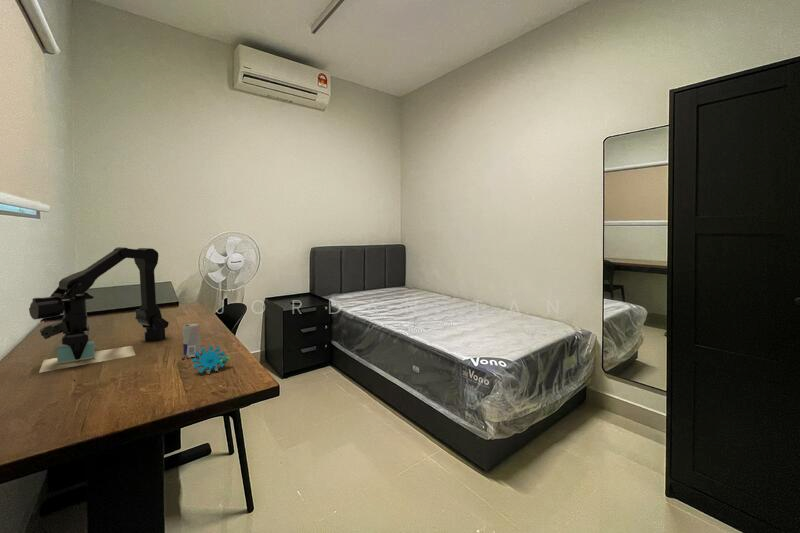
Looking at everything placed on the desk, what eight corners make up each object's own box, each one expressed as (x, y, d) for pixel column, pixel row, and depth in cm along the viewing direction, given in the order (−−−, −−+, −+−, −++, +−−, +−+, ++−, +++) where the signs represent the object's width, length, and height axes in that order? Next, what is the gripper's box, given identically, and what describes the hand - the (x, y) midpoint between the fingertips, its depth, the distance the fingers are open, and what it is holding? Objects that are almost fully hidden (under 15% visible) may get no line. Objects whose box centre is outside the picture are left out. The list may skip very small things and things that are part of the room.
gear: (190, 373, 105) (194, 345, 111) (189, 381, 109) (193, 353, 115) (229, 371, 110) (231, 344, 116) (227, 379, 114) (229, 352, 120)
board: (132, 348, 131) (132, 345, 131) (135, 358, 121) (135, 355, 121) (44, 363, 115) (43, 359, 115) (39, 376, 105) (38, 372, 105)
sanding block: (94, 354, 120) (93, 340, 120) (94, 358, 116) (93, 344, 116) (59, 359, 114) (58, 345, 114) (57, 363, 110) (56, 349, 110)
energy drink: (188, 353, 127) (187, 323, 126) (203, 353, 127) (202, 323, 126) (180, 358, 121) (179, 326, 120) (195, 358, 122) (194, 326, 121)
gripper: (44, 311, 115) (47, 355, 117) (37, 322, 102) (41, 371, 103) (87, 307, 123) (90, 348, 124) (87, 317, 109) (89, 362, 111)
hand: (78, 357), depth 115 cm, fingers closed on sanding block, 5 cm apart
